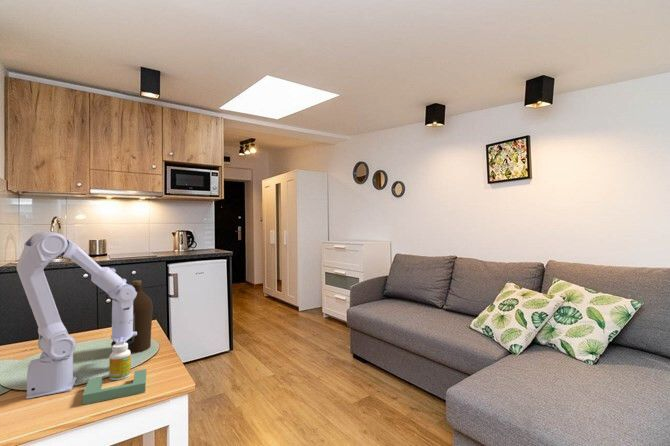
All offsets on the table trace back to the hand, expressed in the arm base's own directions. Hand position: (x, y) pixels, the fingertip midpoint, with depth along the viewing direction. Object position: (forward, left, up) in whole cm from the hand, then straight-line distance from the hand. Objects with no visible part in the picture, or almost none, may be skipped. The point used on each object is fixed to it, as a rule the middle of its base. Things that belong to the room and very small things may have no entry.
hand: (122, 362), depth 105 cm
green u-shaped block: (0, -15, -1) cm, 15 cm away
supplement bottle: (0, -7, -2) cm, 7 cm away
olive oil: (+3, +15, -2) cm, 15 cm away
